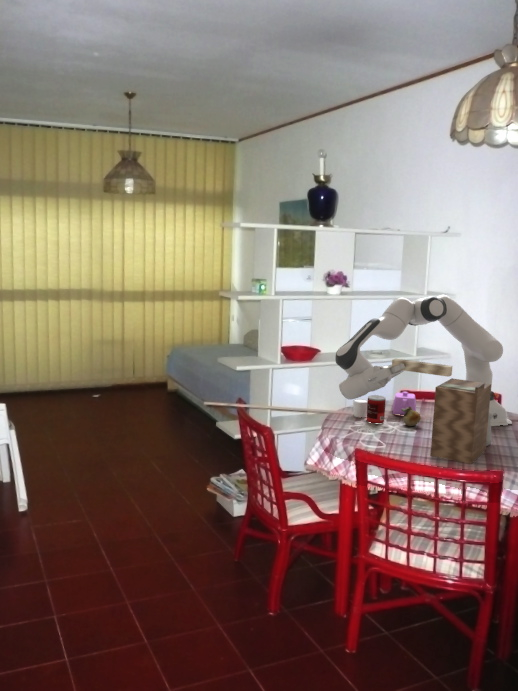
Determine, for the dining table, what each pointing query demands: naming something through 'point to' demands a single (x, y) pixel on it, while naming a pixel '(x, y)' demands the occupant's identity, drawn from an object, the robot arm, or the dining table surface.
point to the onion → (411, 417)
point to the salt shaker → (489, 431)
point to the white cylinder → (360, 407)
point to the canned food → (376, 409)
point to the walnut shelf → (460, 420)
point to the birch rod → (424, 367)
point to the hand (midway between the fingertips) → (407, 364)
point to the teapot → (403, 402)
